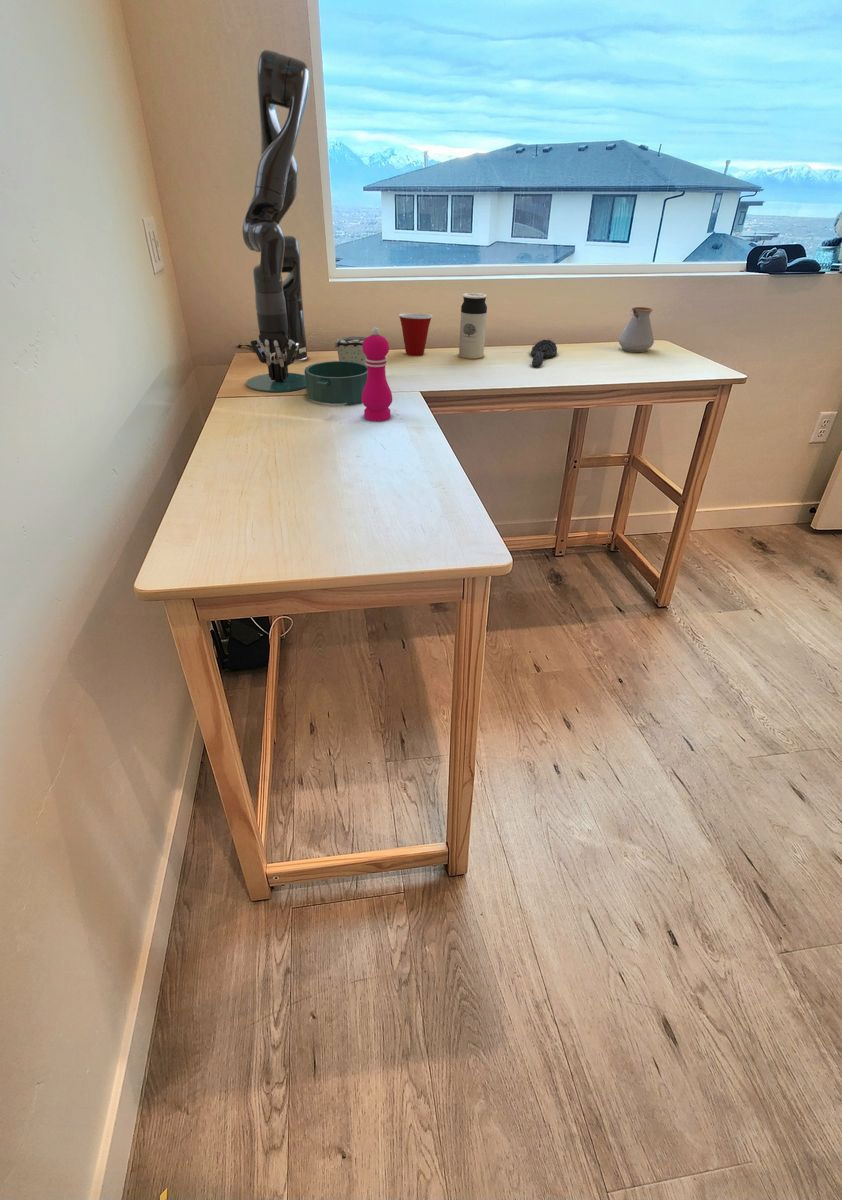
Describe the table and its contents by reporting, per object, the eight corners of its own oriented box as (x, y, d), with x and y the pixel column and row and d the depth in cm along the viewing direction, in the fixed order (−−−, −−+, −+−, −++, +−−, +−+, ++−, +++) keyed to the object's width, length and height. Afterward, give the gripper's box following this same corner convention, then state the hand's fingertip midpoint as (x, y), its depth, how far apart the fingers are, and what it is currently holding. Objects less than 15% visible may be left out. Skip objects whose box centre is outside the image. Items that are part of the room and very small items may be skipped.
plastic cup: (434, 351, 204) (436, 311, 197) (427, 359, 195) (428, 318, 188) (403, 349, 206) (403, 309, 199) (394, 356, 197) (394, 315, 190)
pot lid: (234, 391, 163) (230, 368, 160) (265, 374, 177) (263, 352, 174) (295, 397, 159) (293, 374, 156) (322, 379, 173) (320, 357, 170)
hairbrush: (523, 356, 188) (535, 335, 207) (521, 369, 190) (534, 347, 209) (550, 359, 186) (560, 338, 205) (548, 371, 188) (558, 349, 207)
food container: (382, 373, 180) (381, 336, 174) (379, 378, 175) (378, 341, 169) (340, 371, 181) (338, 335, 175) (336, 377, 176) (334, 339, 170)
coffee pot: (621, 344, 217) (630, 297, 208) (654, 348, 212) (665, 300, 204) (606, 357, 201) (615, 307, 192) (642, 361, 197) (652, 310, 188)
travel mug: (467, 352, 203) (470, 291, 193) (488, 355, 200) (492, 294, 189) (454, 356, 198) (456, 294, 188) (475, 360, 194) (479, 297, 184)
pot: (291, 405, 154) (289, 377, 150) (326, 382, 172) (324, 356, 168) (354, 411, 151) (352, 383, 147) (382, 387, 168) (382, 361, 164)
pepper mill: (396, 414, 149) (396, 325, 138) (385, 423, 144) (384, 332, 132) (369, 411, 151) (366, 323, 140) (357, 419, 146) (353, 329, 134)
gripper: (302, 310, 159) (308, 378, 169) (253, 306, 162) (262, 374, 172) (289, 315, 153) (296, 386, 163) (239, 311, 156) (249, 381, 166)
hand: (279, 379), depth 167 cm, fingers closed on pot lid, 2 cm apart
